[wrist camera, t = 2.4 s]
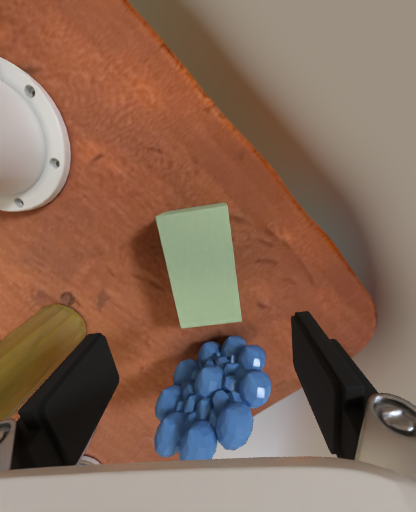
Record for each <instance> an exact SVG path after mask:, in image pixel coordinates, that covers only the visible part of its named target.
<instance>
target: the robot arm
mask: <svg viewBox="0 0 416 512" xmlns="http://www.w3.org/2000/svg"><path fill="white" fill-rule="evenodd" d="M70 161H71V152H70V142H69V137H68V133H67V129H66V126H65V124H64V121H63V119H62V116H61V114H60V112H59V110H58V109H57V107H56V105H55V103H54V102H53V100H52V99H51V97H50V96H49V95H48V94H47V92H46V91H45V90H44V89H43V87H42V86H41V85H40V84H39V83H38V82H37V81H35V80H34V79H33V78H32V77H31V76H30V75H29V74H28V73H26V72H24V71H23V70H21V69H20V68H18V67H17V66H15V65H14V64H12V63H10V62H8V61H7V60H5V59H3V58H1V57H0V210H2V211H8V212H21V211H28V210H34V209H36V208H39V207H42V206H44V205H46V204H47V203H49V202H51V201H52V200H53V199H54V198H55V197H56V196H57V195H58V194H59V193H60V191H61V190H62V188H63V186H64V184H65V183H66V180H67V177H68V174H69V170H70ZM59 164H60V165H59ZM291 326H292V349H293V364H294V368H295V371H296V373H297V376H298V378H299V380H300V383H301V385H302V387H303V390H304V392H305V394H306V397H307V399H308V401H309V404H310V406H311V409H312V411H313V413H314V415H315V418H316V420H317V423H318V425H319V427H320V430H321V432H322V434H323V436H324V439H325V441H326V444H327V446H328V448H329V450H330V452H331V453H332V454H336V455H337V457H338V458H334V457H333V458H332V457H259V458H236V459H235V458H233V459H206V460H182V461H159V462H137V463H115V464H96V465H76V464H77V463H78V461H79V459H80V457H81V455H82V453H83V451H84V450H85V448H86V446H87V444H88V442H89V440H90V438H91V436H92V434H93V432H94V430H95V428H96V426H97V424H98V422H99V421H100V419H101V417H102V415H103V413H104V411H105V409H106V407H107V405H108V403H109V401H110V399H111V397H112V395H113V393H114V391H115V390H116V388H117V386H118V383H119V374H118V371H117V369H116V366H115V363H114V360H113V357H112V354H111V351H110V349H109V346H108V343H107V340H106V337H105V336H103V335H102V334H101V333H94V334H88V335H87V336H86V337H85V338H84V339H83V340H82V341H81V342H80V343H79V344H78V346H77V347H76V348H75V349H74V350H73V351H72V352H71V353H70V354H69V356H68V357H67V358H66V359H65V360H64V361H63V362H62V363H61V364H60V365H59V367H58V368H57V369H56V370H55V371H54V372H53V373H52V374H51V375H50V376H49V378H48V379H47V380H46V381H45V382H44V383H43V384H42V385H41V386H40V387H39V389H38V390H37V391H36V392H35V393H34V394H33V395H32V396H31V397H30V398H29V400H28V401H27V402H26V403H25V404H24V405H23V406H22V407H21V408H20V409H19V411H18V413H19V415H20V418H19V419H18V420H17V421H16V420H14V419H12V418H8V419H4V420H1V421H0V512H416V406H415V405H413V404H412V403H410V402H409V401H407V400H405V399H403V398H401V397H398V396H395V395H392V394H387V393H378V392H377V391H376V389H375V388H374V387H373V386H372V384H371V383H370V382H369V380H368V379H367V378H366V377H365V375H364V374H363V373H362V372H361V370H360V369H359V368H358V367H357V366H356V364H355V363H354V361H353V360H352V359H351V358H350V356H349V355H348V354H347V353H346V351H345V350H344V349H343V348H342V346H341V345H340V344H339V342H338V341H337V340H335V339H329V338H328V337H327V336H326V334H325V333H324V332H323V330H322V329H321V327H320V326H319V325H318V323H317V322H316V321H315V319H314V318H313V317H312V315H311V314H310V313H309V312H308V311H305V312H296V313H295V316H291ZM74 465H76V466H74Z"/></svg>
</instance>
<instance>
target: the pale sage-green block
mask: <svg viewBox="0 0 416 512" xmlns="http://www.w3.org/2000/svg"><path fill="white" fill-rule="evenodd" d="M155 218H156V222H157V227H158V231H159V235H160V240H161V244H162V248H163V253H164V257H165V261H166V266H167V270H168V275H169V279H170V283H171V288H172V292H173V296H174V301H175V305H176V309H177V314H178V318H179V323H180V327H181V328H189V327H198V326H207V325H215V324H224V323H233V322H242V318H241V310H240V302H239V294H238V286H237V277H236V269H235V261H234V253H233V245H232V237H231V229H230V221H229V213H228V206H227V204H226V203H225V202H223V203H216V204H210V205H204V206H197V207H191V208H185V209H178V210H172V211H166V212H164V213H162V214H160V215H158V216H156V217H155Z"/></svg>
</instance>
